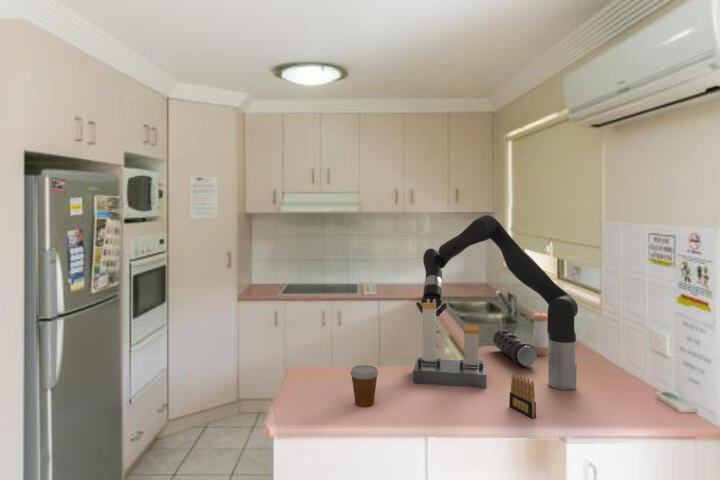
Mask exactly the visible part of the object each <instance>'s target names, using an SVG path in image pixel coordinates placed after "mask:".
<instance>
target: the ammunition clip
mask: <svg viewBox="0 0 720 480" xmlns="http://www.w3.org/2000/svg"><path fill="white" fill-rule="evenodd" d="M510 383H511V384H510V391H509V404H508V405H509V406H508V407H509V408H510V409H512V410H514V411H516V412H517V413H520V414H522V415H523V416H526V417H527V418H529V419H531V420H533V419H537V404H536V403H537V402H536V393H535V382H534V380H531V381H530V378H527V379H526V376H524V377H523V375H520V376H519V374H518V373H515V371H512V374H511V382H510Z"/></svg>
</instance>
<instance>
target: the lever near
mask: <svg viewBox="0 0 720 480" xmlns="http://www.w3.org/2000/svg"><path fill="white" fill-rule="evenodd" d="M479 327H480V326H479V325H466V324H465V325H463V339H464V340H463V344H464V348H463V350H464V351H463V352H464V354H463V355H464V356H463V357H464V359H463V360H464V367H478V362H479V333H480V329H479Z"/></svg>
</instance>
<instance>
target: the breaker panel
mask: <svg viewBox="0 0 720 480" xmlns="http://www.w3.org/2000/svg"><path fill="white" fill-rule="evenodd" d="M422 360H423V357H421V356H420V357H418V358H417V359H416V361H415V363H414V367H413V369H412V384H418V385H429V386H430V385H433V386H447V387H463V388H477V389H487V385H488V384H487V362H486V361H483V360H478V367H464V359H459V360H458V359H457V360H456V359H454V360H453V359H441V358H439V357H438V358H437V357H436V360H435V361H436V365H430V364H422Z"/></svg>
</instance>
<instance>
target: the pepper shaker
mask: <svg viewBox="0 0 720 480" xmlns="http://www.w3.org/2000/svg"><path fill="white" fill-rule="evenodd" d="M532 320H533V333H532V344H531V345H532V346H533V347H534V348H535V350H536V354H537V356H549V334H548V313H545V312H543V311H541V310H540V311H539V312H535V313H533V314H532Z"/></svg>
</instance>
